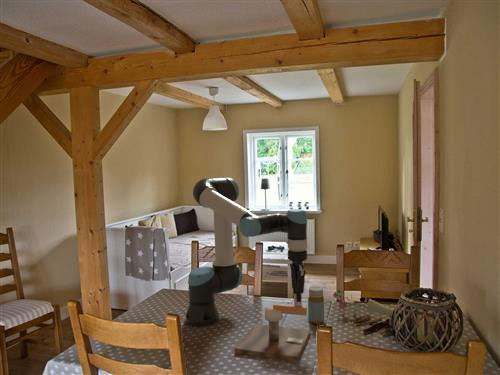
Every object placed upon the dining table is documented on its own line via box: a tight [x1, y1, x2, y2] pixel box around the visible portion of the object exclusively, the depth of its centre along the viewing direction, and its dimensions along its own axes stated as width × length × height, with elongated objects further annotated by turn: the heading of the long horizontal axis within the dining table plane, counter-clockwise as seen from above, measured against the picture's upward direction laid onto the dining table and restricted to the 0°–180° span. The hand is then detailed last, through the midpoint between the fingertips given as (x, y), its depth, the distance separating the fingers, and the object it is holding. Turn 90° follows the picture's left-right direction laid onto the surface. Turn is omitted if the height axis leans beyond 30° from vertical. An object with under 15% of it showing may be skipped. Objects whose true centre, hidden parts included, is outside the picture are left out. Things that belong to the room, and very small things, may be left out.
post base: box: [234, 321, 311, 363], centre depth 159 cm, size 24×24×10 cm
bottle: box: [307, 286, 325, 325], centre depth 180 cm, size 7×7×15 cm
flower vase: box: [332, 286, 395, 319], centre depth 182 cm, size 12×12×35 cm
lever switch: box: [264, 302, 308, 322], centre depth 157 cm, size 16×7×6 cm, turn 72°
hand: (297, 308), depth 159 cm, fingers closed
